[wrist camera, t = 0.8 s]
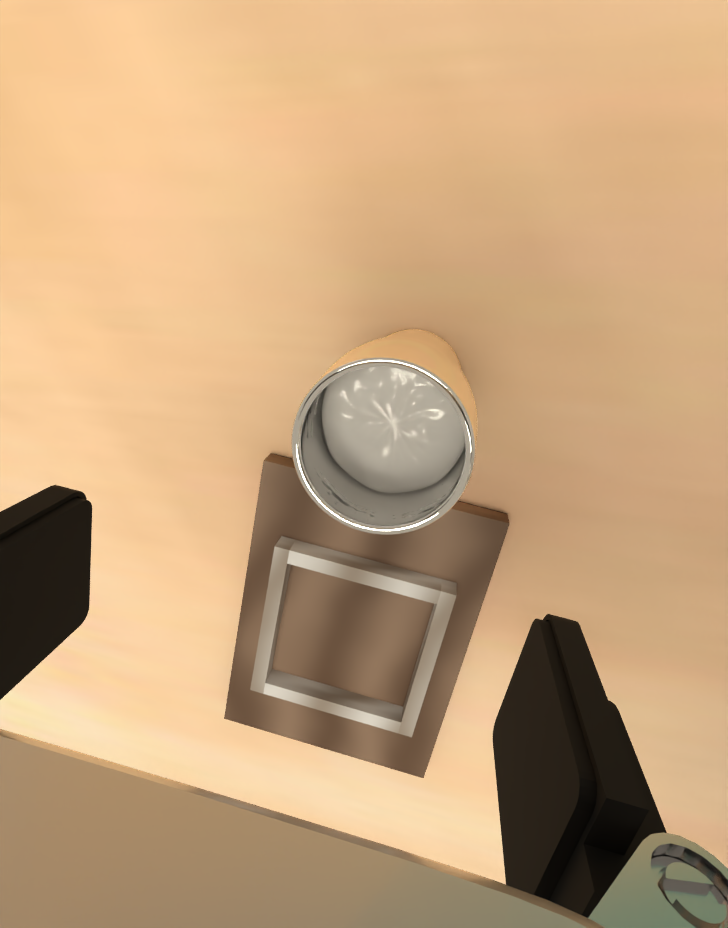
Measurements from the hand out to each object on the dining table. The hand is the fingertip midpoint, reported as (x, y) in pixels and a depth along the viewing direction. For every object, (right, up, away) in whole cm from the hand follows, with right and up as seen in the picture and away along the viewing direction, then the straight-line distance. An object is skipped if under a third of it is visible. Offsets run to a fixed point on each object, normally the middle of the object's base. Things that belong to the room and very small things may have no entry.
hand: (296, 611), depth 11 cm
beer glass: (+4, +8, +22) cm, 24 cm away
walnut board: (+1, -8, +28) cm, 29 cm away
